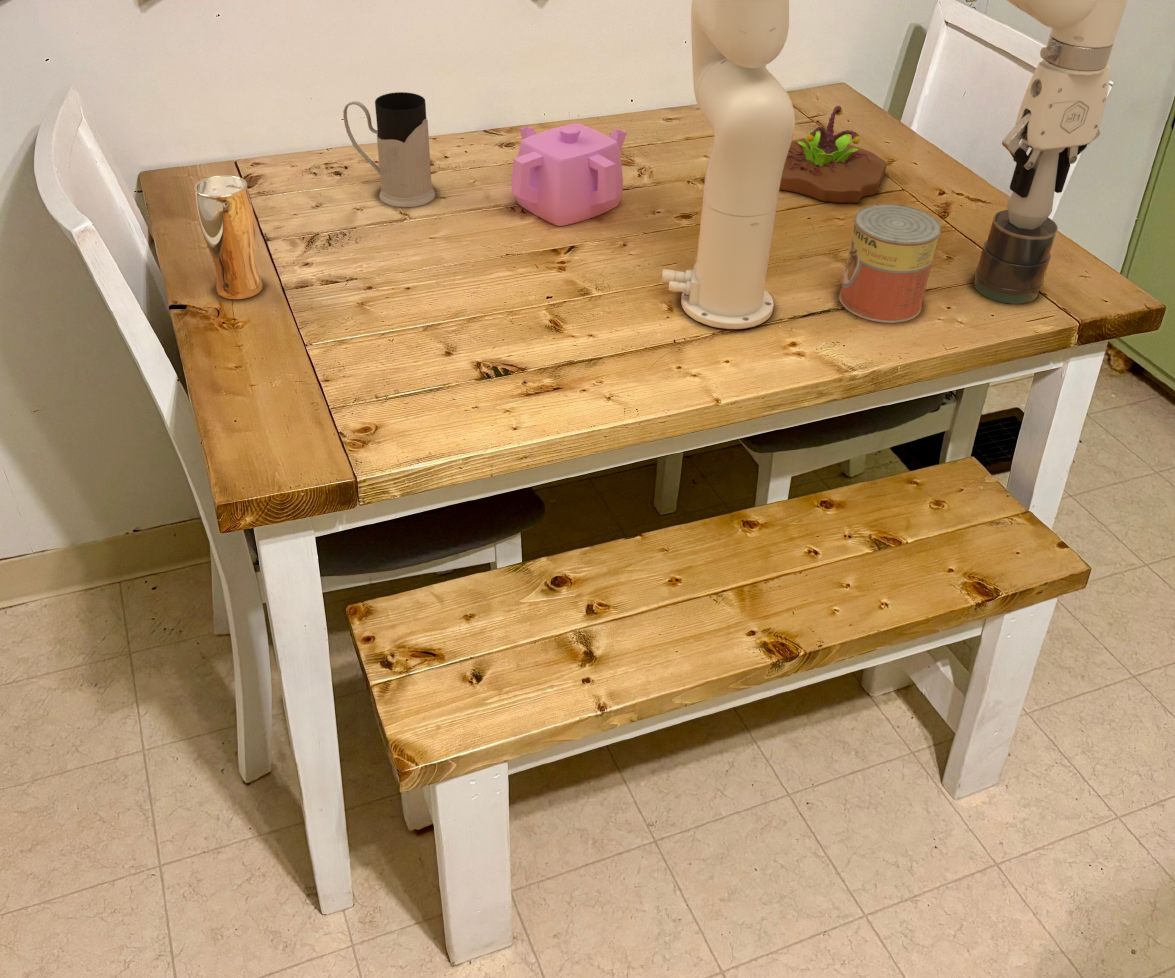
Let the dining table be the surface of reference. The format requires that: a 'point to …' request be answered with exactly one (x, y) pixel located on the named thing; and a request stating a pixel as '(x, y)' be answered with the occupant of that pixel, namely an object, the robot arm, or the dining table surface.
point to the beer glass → (229, 234)
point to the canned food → (889, 262)
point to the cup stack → (1014, 260)
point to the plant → (832, 166)
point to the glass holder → (400, 148)
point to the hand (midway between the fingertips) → (1035, 189)
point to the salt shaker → (1036, 193)
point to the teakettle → (568, 173)
